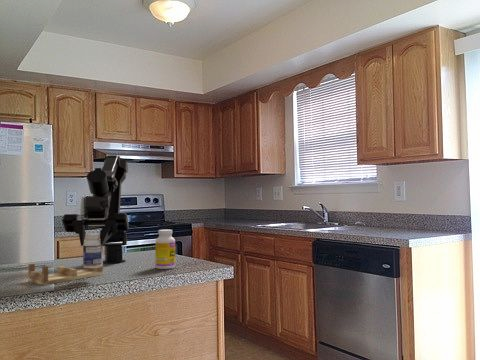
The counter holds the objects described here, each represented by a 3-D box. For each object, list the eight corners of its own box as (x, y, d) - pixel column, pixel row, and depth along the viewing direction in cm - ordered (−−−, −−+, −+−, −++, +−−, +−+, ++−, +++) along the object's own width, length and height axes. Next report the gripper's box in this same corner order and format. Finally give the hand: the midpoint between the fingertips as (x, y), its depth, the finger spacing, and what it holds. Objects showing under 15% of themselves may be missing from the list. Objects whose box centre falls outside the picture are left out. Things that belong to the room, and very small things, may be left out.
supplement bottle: (171, 269, 141) (170, 231, 142) (152, 269, 142) (152, 230, 143) (178, 266, 148) (177, 229, 148) (160, 265, 149) (159, 229, 149)
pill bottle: (86, 265, 127) (85, 232, 127) (104, 264, 128) (104, 232, 128) (80, 268, 122) (80, 234, 122) (100, 268, 122) (99, 234, 123)
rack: (28, 281, 125) (28, 264, 125) (86, 271, 140) (86, 256, 140) (44, 285, 119) (44, 267, 119) (102, 274, 134) (102, 258, 134)
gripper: (63, 187, 128) (51, 227, 117) (127, 186, 130) (121, 226, 119) (71, 212, 136) (60, 252, 125) (131, 211, 138) (125, 250, 127)
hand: (91, 244), depth 124 cm, fingers closed on pill bottle, 5 cm apart
